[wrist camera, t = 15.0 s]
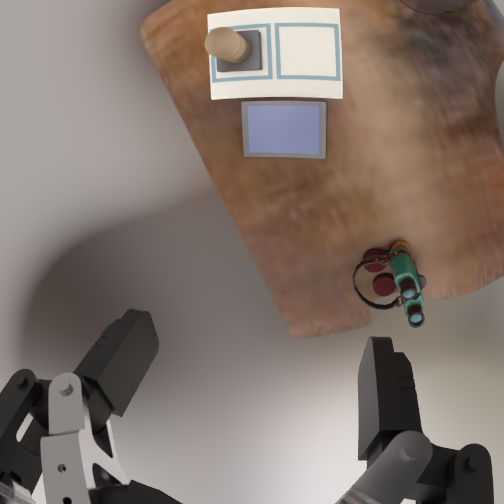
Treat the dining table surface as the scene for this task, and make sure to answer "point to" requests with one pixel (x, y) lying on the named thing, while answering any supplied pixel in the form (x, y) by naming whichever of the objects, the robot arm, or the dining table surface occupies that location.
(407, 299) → the binoculars
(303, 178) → the dining table surface
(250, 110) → the ink pad
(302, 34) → the form board
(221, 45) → the stamp
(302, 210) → the dining table surface
